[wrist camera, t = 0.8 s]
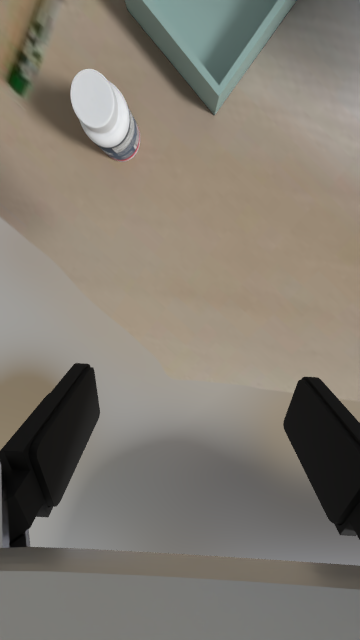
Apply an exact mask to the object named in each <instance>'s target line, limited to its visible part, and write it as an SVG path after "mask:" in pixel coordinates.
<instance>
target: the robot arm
mask: <svg viewBox="0 0 360 640" xmlns="http://www.w3.org/2000/svg"><path fill="white" fill-rule="evenodd" d="M99 414H100V409H99V403H98V395H97V388H96V381H95V374H94V369H93V368H91V367H90V365H89V364H80V363H76V364H74V365H73V366H72V368H71V369H70V370H69V371H68V372H67V373H66V375H65V376H64V377H63V378H62V379H61V381H60V382H59V383H58V385H57V386H56V387H55V388H54V389H53V391H52V392H51V393H49V394H48V395H47V396H46V397H45V398H44V399H43V401H42V402H41V403H40V404H39V405H38V406H37V408H36V409H35V410H34V411H33V413H32V414H31V415H30V416H29V417H28V419H27V420H26V421H25V422H24V423H23V424H22V426H21V427H20V428H19V429H18V430H17V432H16V433H15V434H14V435H13V436H12V438H11V439H10V440H9V441H8V442H7V444H6V445H5V446H4V447H3V448H2V449H1V451H0V640H360V566H355V565H340V564H326V563H311V562H296V561H281V560H266V559H250V558H234V557H218V556H201V555H184V554H169V553H168V554H167V553H151V552H132V551H114V550H95V549H74V548H44V547H30V538H29V528H30V527H31V525H32V523H33V521H34V519H35V517H36V516H37V517H49V515H50V512H51V510H52V508H53V506H57V505H58V504H59V502H60V501H61V499H62V496H63V494H64V492H65V490H66V488H67V486H68V484H69V481H70V479H71V477H72V475H73V473H74V471H75V468H76V466H77V464H78V462H79V460H80V458H81V455H82V453H83V451H84V449H85V447H86V445H87V442H88V440H89V438H90V436H91V433H92V431H93V429H94V427H95V425H96V423H97V421H98V418H99ZM284 429H285V432H286V434H287V436H288V438H289V440H290V442H291V444H292V446H293V448H294V450H295V452H296V454H297V456H298V458H299V460H300V462H301V464H302V466H303V468H304V470H305V472H306V474H307V477H308V479H309V481H310V483H311V485H312V487H313V489H314V491H315V493H316V495H317V497H318V499H319V501H320V503H321V505H322V507H323V509H324V511H325V513H326V515H327V517H328V519H329V520H330V521H331V522H332V523H334V524H335V526H336V528H337V530H338V532H339V534H340V535H347V536H356V535H358V538H359V539H360V423H359V422H358V421H357V420H356V419H355V417H354V416H353V415H352V414H351V413H350V412H349V411H348V410H347V408H346V407H345V406H344V405H343V404H342V403H341V402H340V401H339V399H338V398H337V397H336V396H335V395H334V394H333V393H332V392H331V391H330V389H329V388H328V387H327V386H326V385H325V384H324V383H323V382H322V381H321V380H320V379H319V378H316V377H303V378H302V379H301V380H299V381H298V383H297V386H296V389H295V391H294V394H293V397H292V400H291V403H290V406H289V408H288V411H287V414H286V417H285V420H284Z"/></svg>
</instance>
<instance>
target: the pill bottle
mask: <svg viewBox="0 0 360 640" xmlns="http://www.w3.org/2000/svg"><path fill="white" fill-rule="evenodd" d="M70 96H71V103H72V106H73V109H74V111H75V113H76V115H77V117H78V118H79V120H80V123H81V126H82V128H83V130H84V131H85V133H86V134H87V136H88V137H89V138H90V139H91V140H92V141H93V142H94V143H95V144H96V145H97V146H98V147H100V148H101V149H102V150H103V151H104V152H105V153H106V154H107V155H108V156H110V157H111V158H112V159H114V160H116V161H120V162H124V161H128V160H130V159H131V158H133V157H134V156H135V154H136V153H137V151H138V149H139V145H140V132H139V128H138V125H137V123H136V121H135V119H134V117H133V116H132V114H131V112H130V109H129V107H128V105H127V103H126V101H125V99H124V97H123V95H122V94H121V92H120V91H119V90H118V88H117V87H116V86H115V85H114V84H112V83H111V82H109V81H107V79H106V78H105V77H104V76H103V75H102V74H101V73H99V72H98V71H96V70H93V69H84V70H82V71H80V72H79V73H78V74H77V75H76V76H75V77H74V79H73V81H72V85H71V91H70Z"/></svg>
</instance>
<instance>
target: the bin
mask: <svg viewBox="0 0 360 640" xmlns="http://www.w3.org/2000/svg"><path fill="white" fill-rule="evenodd" d="M296 1H297V0H125V3H126V6H127V10H128V11H129V12H130V13H131V15H132V16H133V17H134V18H135V19H136V21H137V22H138V23H139V24H140V26H141V27H142V28H143V29H144V30H145V32H146V33H147V34H148V35H149V36H150V38H151V39H152V40H153V41H154V43H155V44H156V45H157V46H158V47H159V49H160V50H161V51H162V52H163V54H164V55H165V56H166V57H167V58H168V60H169V61H170V62H171V63H172V64H173V66H174V67H175V68H176V69H177V71H178V72H179V73H180V74H181V75H182V77H183V78H184V79H185V80H186V81H187V83H188V84H189V85H190V86H191V88H192V89H193V90H194V91H195V92H196V94H197V95H198V96H199V97H200V98H201V100H202V101H203V102H204V103H205V105H206V106H207V107H208V108H209V109H210V111H211V112H212V113H213V114H214V115H215V114H216V113H217V111H218V110H219V108H220V107H221V106H222V104H223V103H224V101H225V100H226V99H227V97H228V96H229V94H230V93H231V92H232V90H233V89H234V87H235V86H236V85H237V83H238V82H239V80H240V79H241V78H242V76H243V75H244V74H245V72H246V71H247V69H248V68H249V67H250V65H251V64H252V62H253V61H254V60H255V58H256V57H257V55H258V54H259V53H260V51H261V50H262V48H263V47H264V46H265V44H266V43H267V41H268V40H269V39H270V37H271V36H272V34H273V33H274V32H275V30H276V29H277V27H278V26H279V25H280V23H281V22H282V20H283V19H284V18H285V16H286V15H287V13H288V12H289V11H290V9H291V8H292V6H293V5H294V4H295V2H296Z"/></svg>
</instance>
